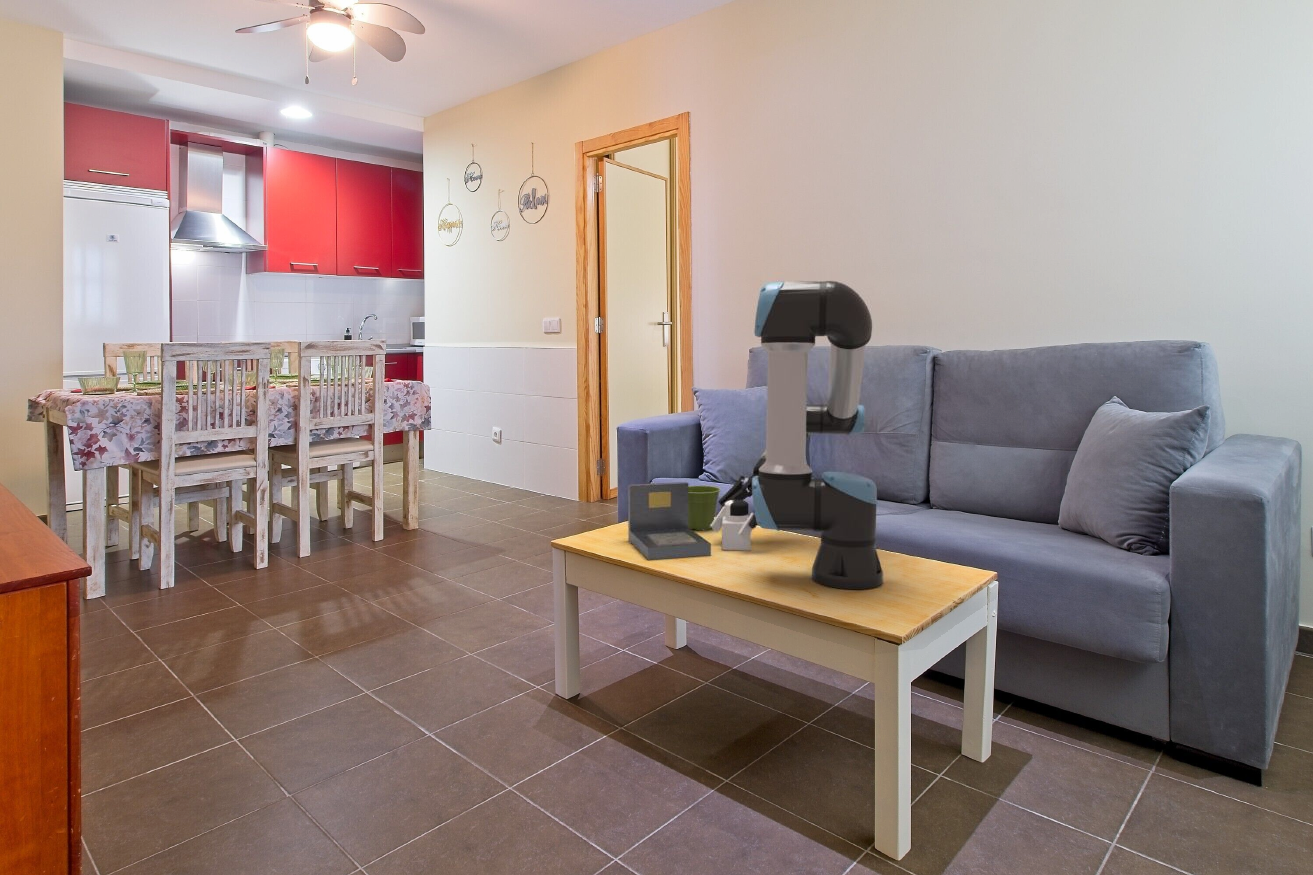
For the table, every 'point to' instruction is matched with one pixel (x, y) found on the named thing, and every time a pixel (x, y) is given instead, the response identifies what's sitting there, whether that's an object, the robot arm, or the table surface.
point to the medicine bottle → (735, 526)
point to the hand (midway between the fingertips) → (727, 532)
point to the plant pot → (701, 506)
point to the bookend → (662, 522)
